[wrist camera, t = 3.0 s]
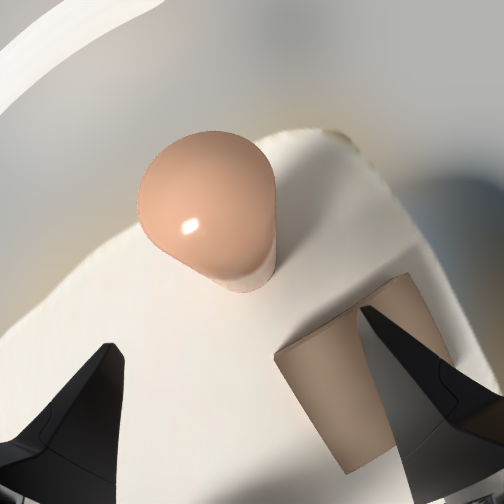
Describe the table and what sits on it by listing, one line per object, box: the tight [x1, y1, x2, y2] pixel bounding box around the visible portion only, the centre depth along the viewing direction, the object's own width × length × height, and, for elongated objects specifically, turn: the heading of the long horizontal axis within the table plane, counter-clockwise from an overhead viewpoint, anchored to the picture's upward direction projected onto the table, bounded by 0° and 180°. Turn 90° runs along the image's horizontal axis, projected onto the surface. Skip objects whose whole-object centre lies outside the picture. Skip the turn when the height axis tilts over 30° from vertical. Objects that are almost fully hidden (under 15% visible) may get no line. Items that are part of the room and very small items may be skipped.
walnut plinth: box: [274, 273, 455, 475], centre depth 18 cm, size 11×11×3 cm
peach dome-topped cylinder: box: [137, 131, 276, 293], centre depth 16 cm, size 5×5×12 cm
